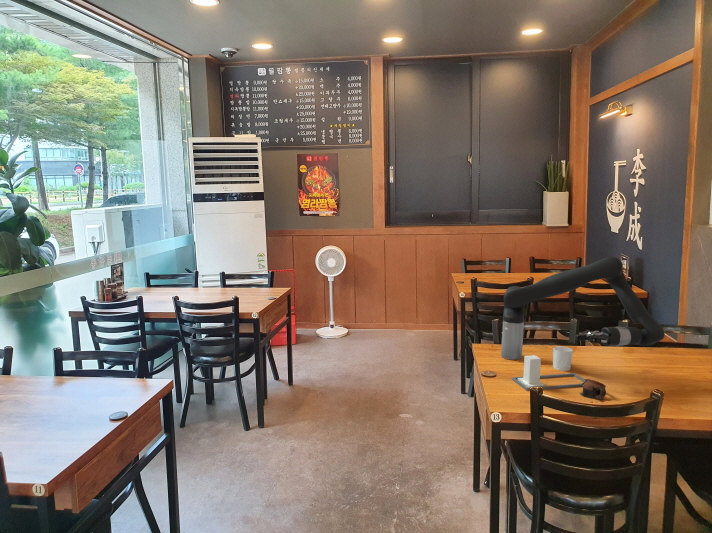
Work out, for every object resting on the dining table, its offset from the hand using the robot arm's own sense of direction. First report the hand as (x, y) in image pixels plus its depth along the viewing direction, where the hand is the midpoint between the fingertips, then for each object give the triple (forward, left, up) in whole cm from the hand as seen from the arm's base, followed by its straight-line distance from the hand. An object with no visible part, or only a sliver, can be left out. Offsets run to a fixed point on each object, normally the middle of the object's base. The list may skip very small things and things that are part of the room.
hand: (576, 337), depth 211 cm
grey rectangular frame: (0, -10, -20) cm, 22 cm away
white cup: (-15, +4, -20) cm, 25 cm away
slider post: (0, -19, -18) cm, 26 cm away
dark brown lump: (+15, -1, -20) cm, 25 cm away
